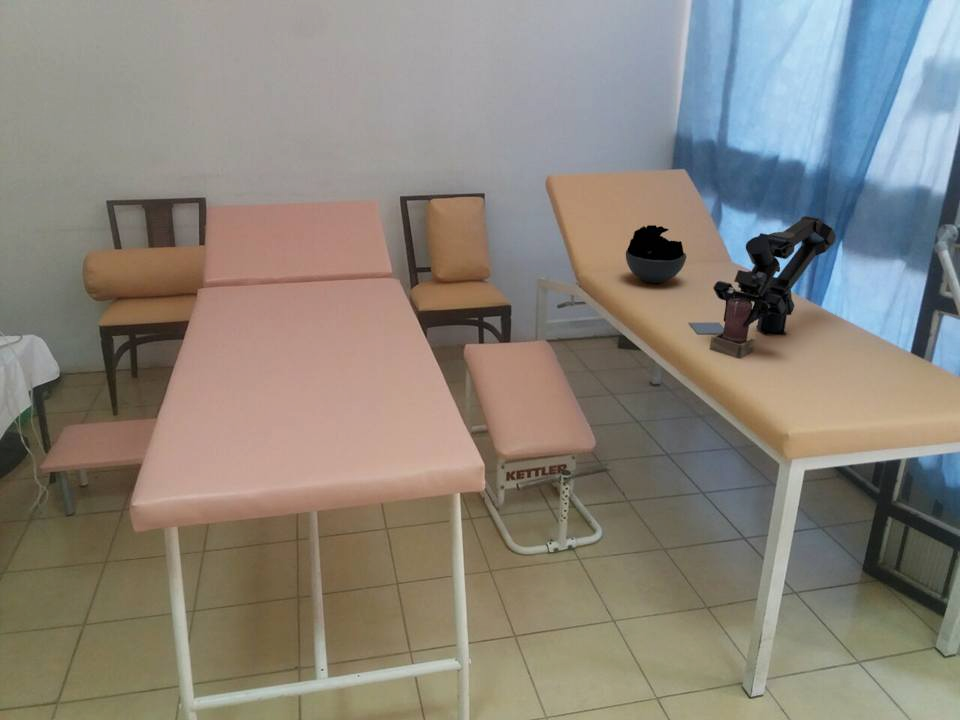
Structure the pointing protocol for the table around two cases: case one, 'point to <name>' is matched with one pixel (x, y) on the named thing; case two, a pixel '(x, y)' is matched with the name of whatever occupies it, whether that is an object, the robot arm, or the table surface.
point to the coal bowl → (654, 255)
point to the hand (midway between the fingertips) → (734, 323)
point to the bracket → (731, 346)
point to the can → (737, 319)
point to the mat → (707, 328)
